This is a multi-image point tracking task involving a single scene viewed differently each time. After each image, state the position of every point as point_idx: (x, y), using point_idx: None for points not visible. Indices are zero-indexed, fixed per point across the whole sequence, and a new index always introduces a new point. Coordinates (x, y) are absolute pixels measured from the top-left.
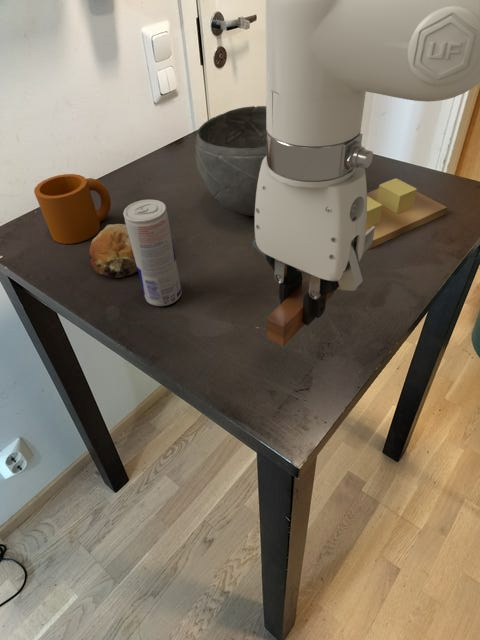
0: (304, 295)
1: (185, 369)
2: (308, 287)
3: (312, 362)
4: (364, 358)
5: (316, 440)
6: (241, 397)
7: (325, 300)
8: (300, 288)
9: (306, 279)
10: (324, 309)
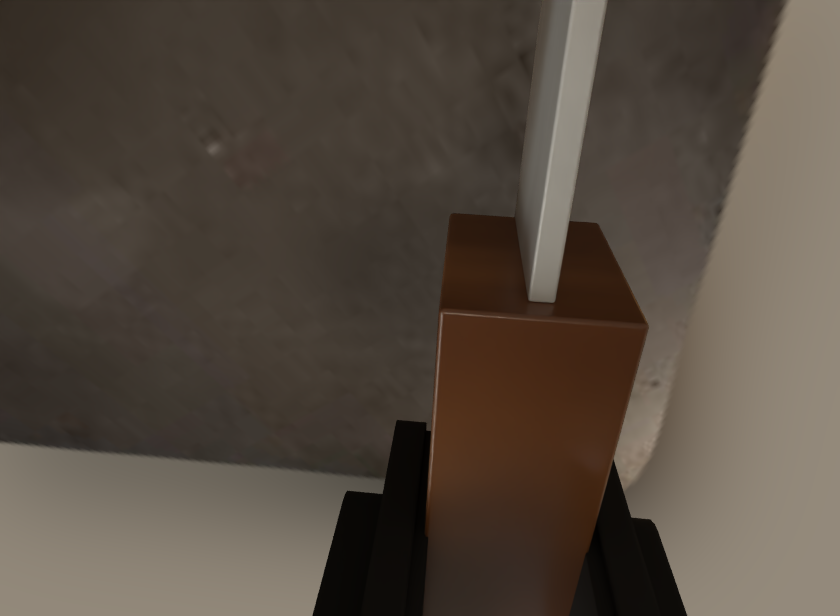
0: (509, 610)
1: (181, 424)
2: (495, 550)
3: (509, 194)
4: (706, 48)
5: (652, 440)
6: (386, 426)
7: (677, 603)
8: (445, 574)
9: (429, 486)
10: (652, 529)
